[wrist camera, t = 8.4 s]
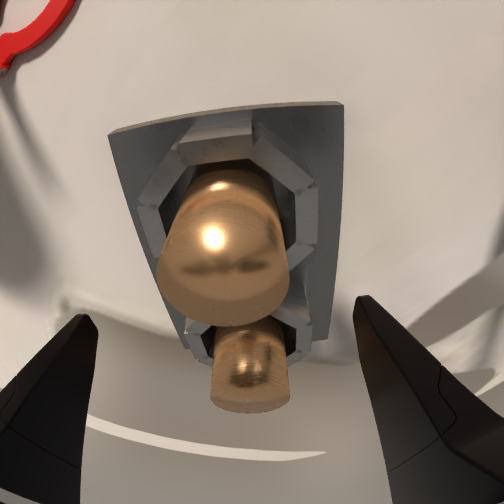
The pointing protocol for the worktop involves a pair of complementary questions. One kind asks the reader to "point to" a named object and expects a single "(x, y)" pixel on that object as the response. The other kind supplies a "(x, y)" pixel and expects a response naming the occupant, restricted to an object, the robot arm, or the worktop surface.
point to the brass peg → (225, 247)
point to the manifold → (291, 217)
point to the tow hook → (32, 32)
